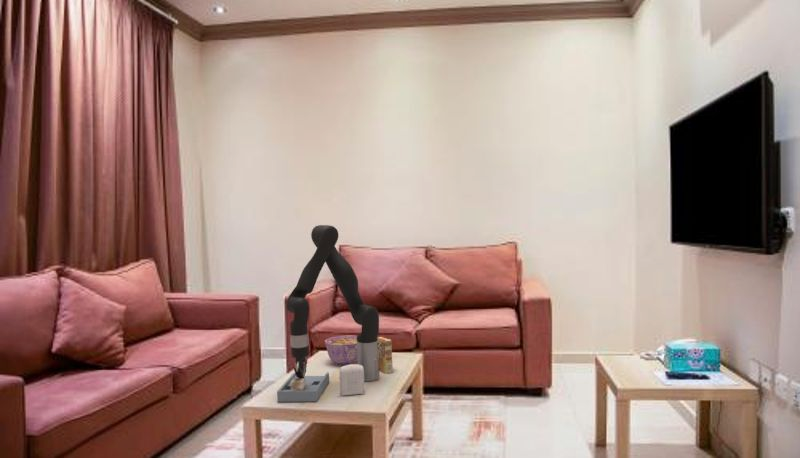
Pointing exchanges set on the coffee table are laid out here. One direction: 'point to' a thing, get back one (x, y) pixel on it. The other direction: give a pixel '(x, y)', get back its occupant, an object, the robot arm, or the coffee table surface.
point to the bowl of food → (342, 349)
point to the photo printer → (351, 380)
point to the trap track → (311, 394)
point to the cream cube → (298, 384)
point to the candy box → (385, 354)
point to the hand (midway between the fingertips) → (301, 385)
